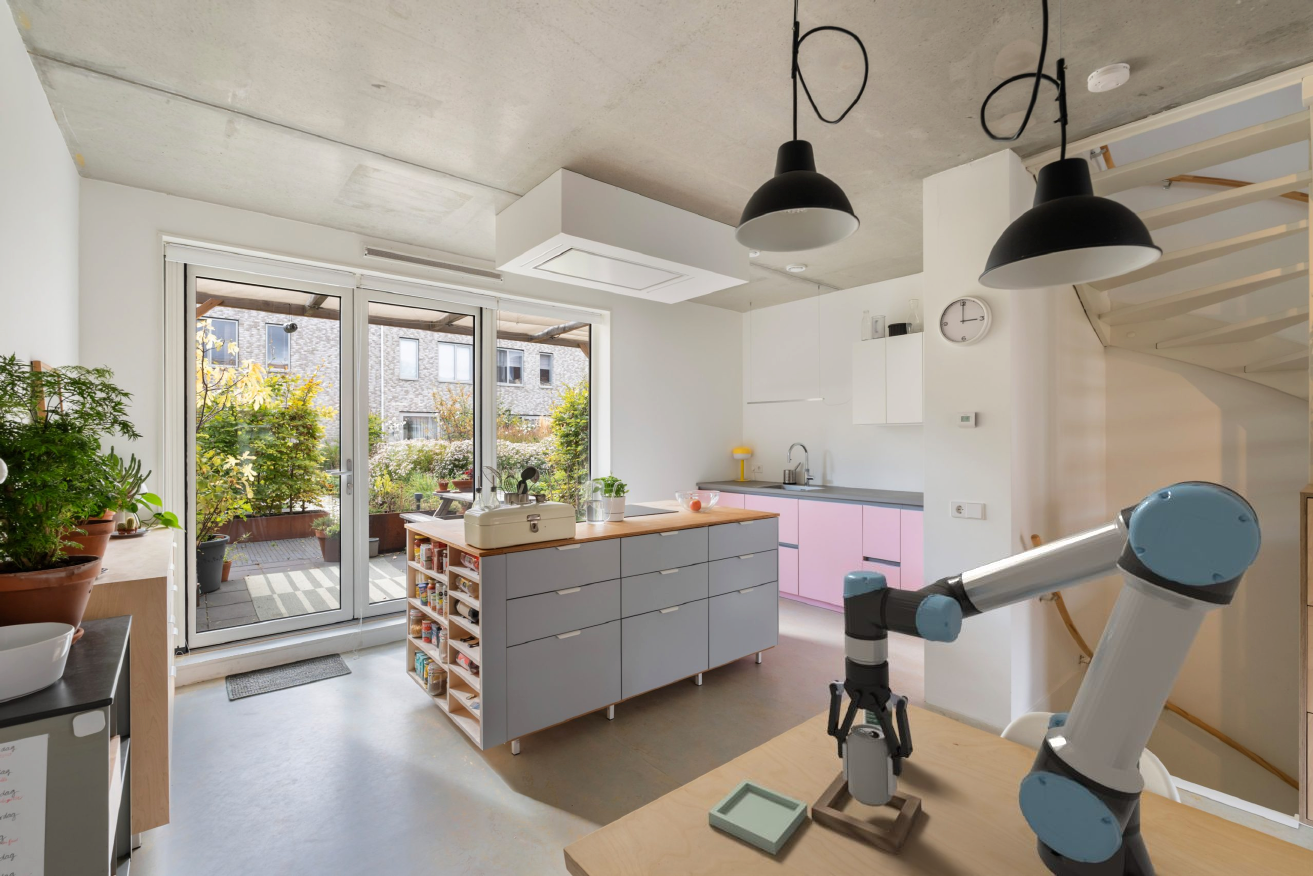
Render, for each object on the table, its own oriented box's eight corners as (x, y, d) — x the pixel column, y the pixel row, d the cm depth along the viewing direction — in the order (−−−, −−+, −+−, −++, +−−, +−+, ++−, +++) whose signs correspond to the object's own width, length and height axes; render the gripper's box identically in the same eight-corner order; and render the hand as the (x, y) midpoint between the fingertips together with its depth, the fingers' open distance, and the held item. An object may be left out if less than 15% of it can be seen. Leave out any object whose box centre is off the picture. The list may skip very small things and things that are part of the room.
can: (896, 811, 102) (894, 742, 102) (851, 807, 103) (849, 739, 103) (888, 787, 109) (886, 722, 109) (846, 783, 111) (844, 719, 111)
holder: (921, 809, 108) (921, 798, 108) (897, 855, 96) (897, 842, 96) (841, 780, 117) (841, 770, 117) (811, 818, 105) (811, 807, 105)
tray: (807, 815, 106) (807, 804, 106) (774, 855, 96) (774, 842, 96) (744, 789, 114) (744, 778, 114) (708, 823, 104) (708, 812, 104)
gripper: (931, 663, 103) (934, 793, 103) (821, 641, 116) (824, 757, 115) (919, 676, 97) (923, 815, 97) (805, 652, 110) (808, 774, 109)
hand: (869, 783), depth 106 cm, fingers closed on can, 7 cm apart
